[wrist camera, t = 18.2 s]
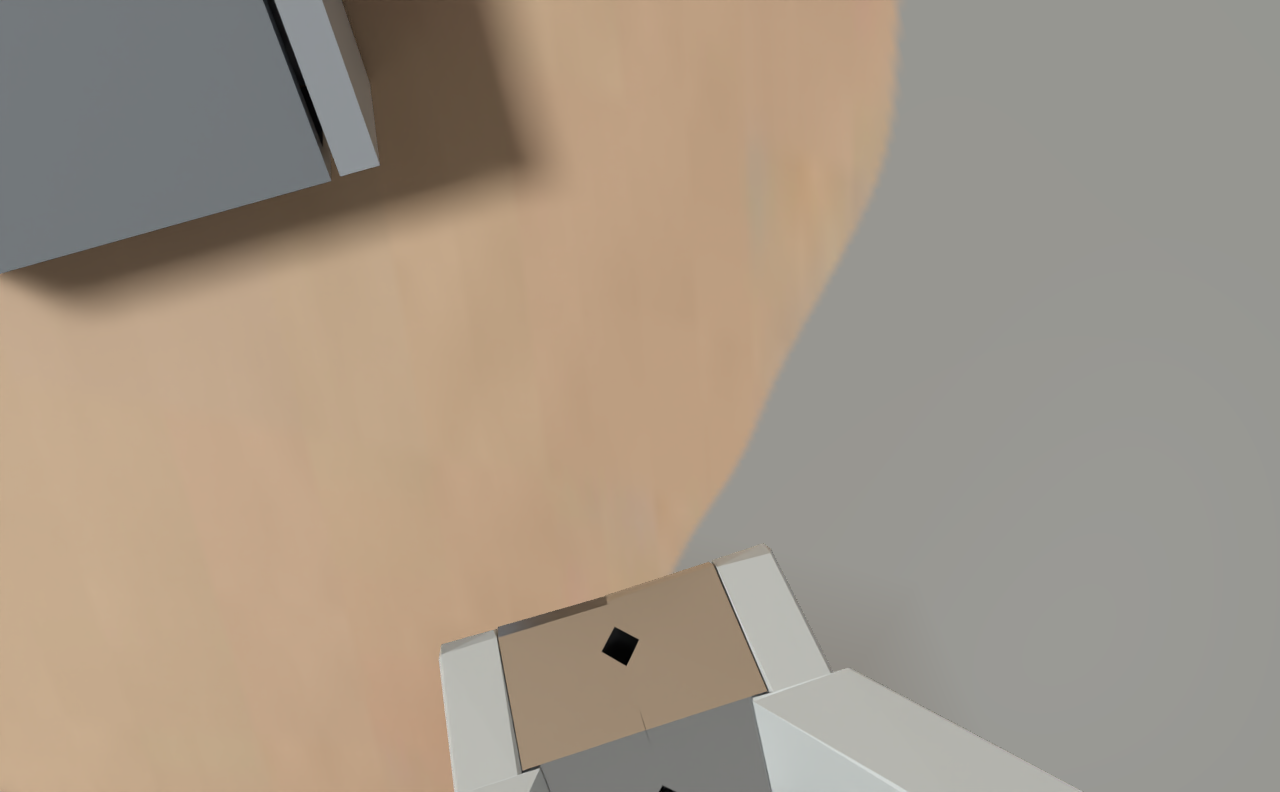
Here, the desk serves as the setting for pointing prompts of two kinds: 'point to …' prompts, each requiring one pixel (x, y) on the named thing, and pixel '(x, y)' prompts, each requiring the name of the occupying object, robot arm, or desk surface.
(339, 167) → the tray
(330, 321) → the desk surface
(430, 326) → the desk surface
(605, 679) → the robot arm
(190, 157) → the housing
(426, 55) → the desk surface
